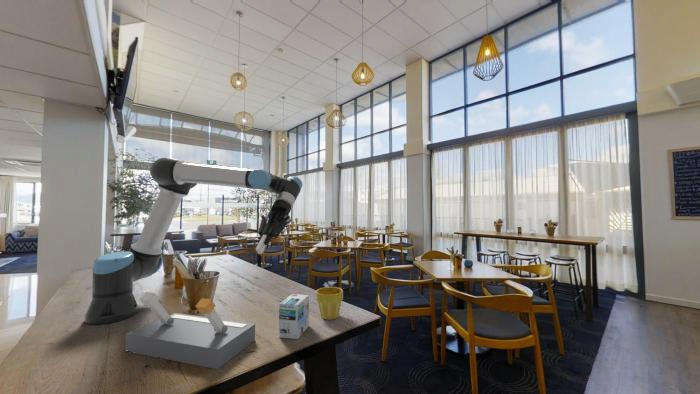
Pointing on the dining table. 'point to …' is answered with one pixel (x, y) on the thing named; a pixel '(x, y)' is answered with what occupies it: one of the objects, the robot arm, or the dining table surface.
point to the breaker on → (156, 307)
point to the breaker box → (191, 340)
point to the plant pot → (329, 301)
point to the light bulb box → (293, 316)
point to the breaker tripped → (211, 314)
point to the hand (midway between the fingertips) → (258, 251)
